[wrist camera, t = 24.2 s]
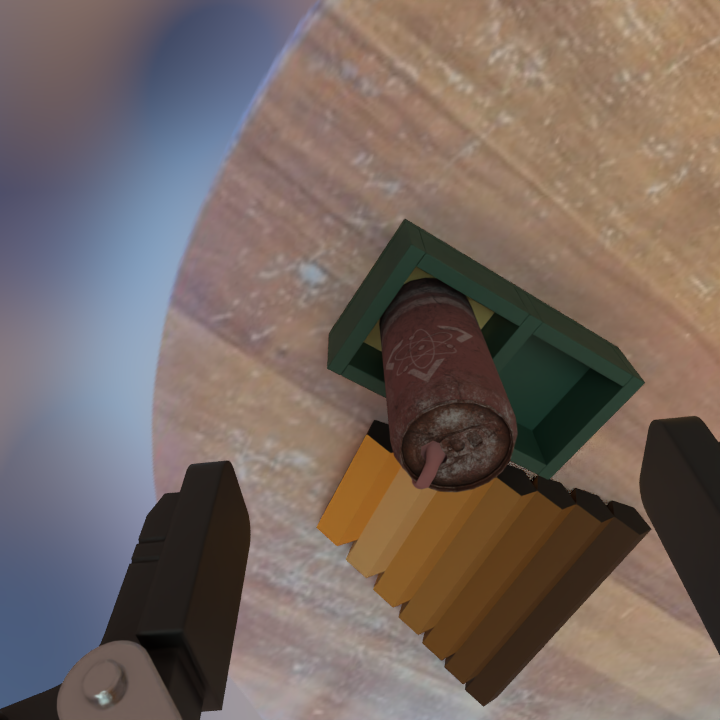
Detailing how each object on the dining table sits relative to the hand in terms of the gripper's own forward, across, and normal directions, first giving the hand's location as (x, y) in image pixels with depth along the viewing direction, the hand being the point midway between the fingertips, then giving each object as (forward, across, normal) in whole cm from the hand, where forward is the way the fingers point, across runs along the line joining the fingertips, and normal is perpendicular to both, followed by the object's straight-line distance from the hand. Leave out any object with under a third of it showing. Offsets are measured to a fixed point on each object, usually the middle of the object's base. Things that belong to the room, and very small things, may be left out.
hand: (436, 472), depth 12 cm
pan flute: (+26, -1, +38) cm, 46 cm away
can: (+27, -2, +12) cm, 30 cm away
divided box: (+27, -5, +15) cm, 32 cm away
